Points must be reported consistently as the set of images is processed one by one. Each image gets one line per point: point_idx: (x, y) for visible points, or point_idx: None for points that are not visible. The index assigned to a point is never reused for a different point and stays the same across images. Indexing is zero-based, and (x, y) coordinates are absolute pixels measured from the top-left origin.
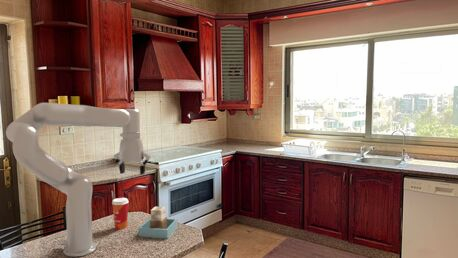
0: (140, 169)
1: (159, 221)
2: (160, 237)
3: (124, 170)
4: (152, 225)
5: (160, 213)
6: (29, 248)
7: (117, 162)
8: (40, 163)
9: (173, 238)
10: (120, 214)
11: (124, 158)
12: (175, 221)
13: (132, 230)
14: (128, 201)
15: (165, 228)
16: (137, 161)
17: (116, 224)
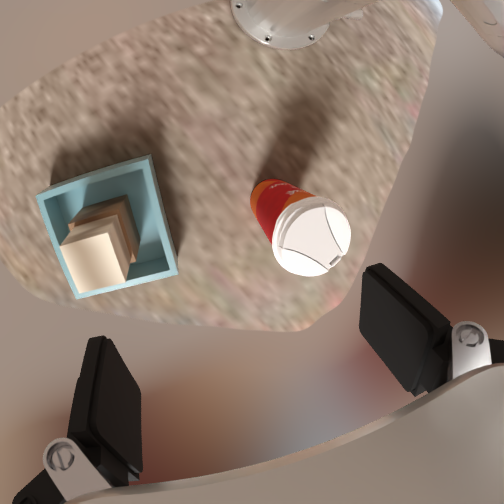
0: (90, 385)
1: (78, 221)
2: (69, 179)
3: (369, 337)
4: (112, 206)
5: (66, 239)
6: (410, 8)
7: (496, 340)
8: None
9: None
10: (277, 196)
11: (467, 445)
12: (67, 279)
13: (216, 197)
14: (279, 261)
15: None
16: (86, 496)
17: (281, 181)
